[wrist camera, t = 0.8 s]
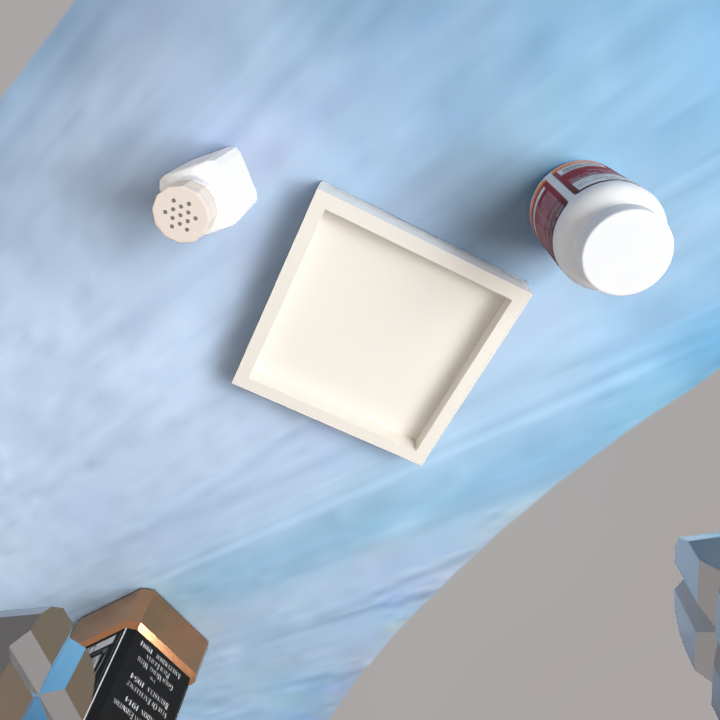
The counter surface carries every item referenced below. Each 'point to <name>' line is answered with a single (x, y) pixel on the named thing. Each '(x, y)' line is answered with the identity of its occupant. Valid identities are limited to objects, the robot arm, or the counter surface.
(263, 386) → the tray
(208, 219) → the salt shaker
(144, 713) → the whiskey bottle
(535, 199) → the pill bottle
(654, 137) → the counter surface
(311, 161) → the counter surface
